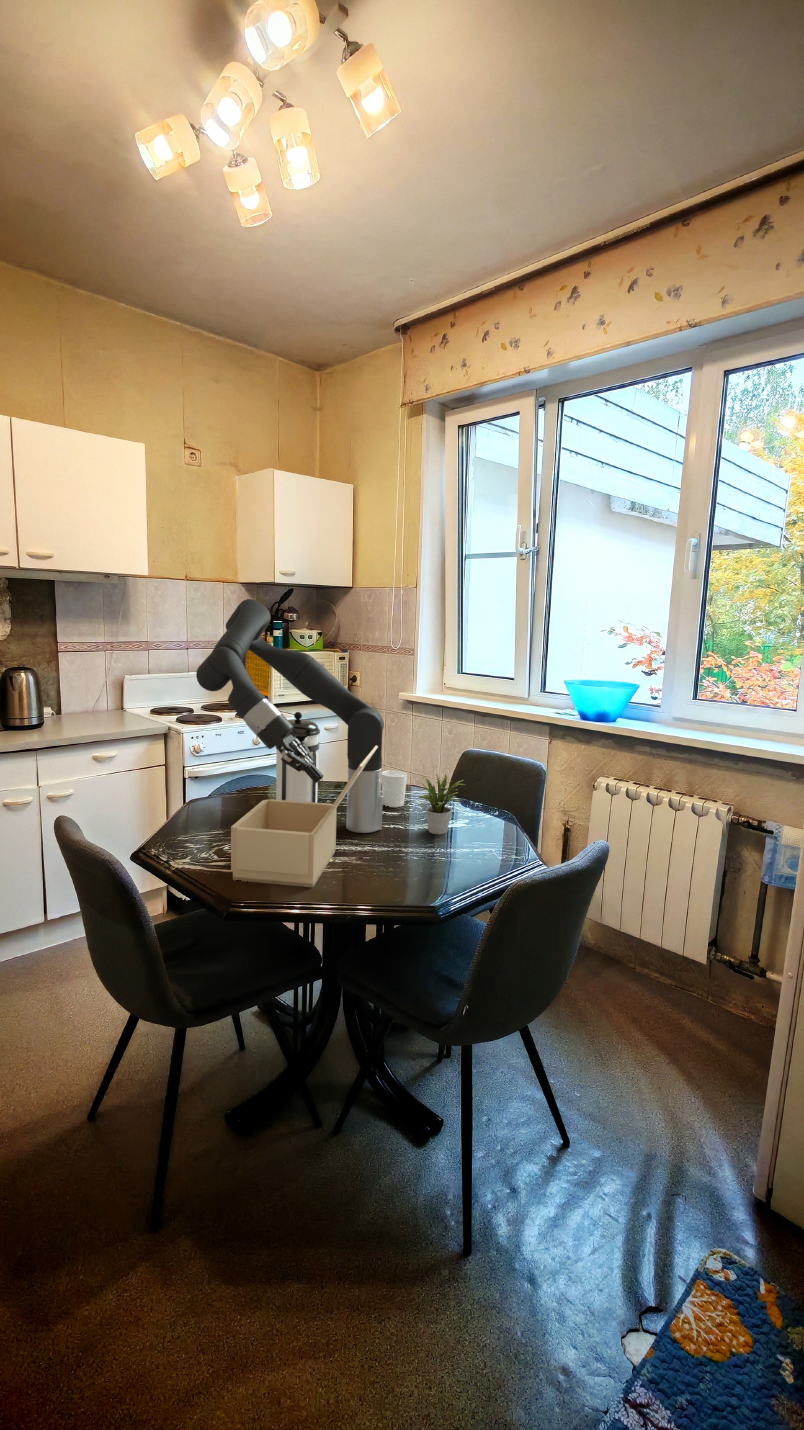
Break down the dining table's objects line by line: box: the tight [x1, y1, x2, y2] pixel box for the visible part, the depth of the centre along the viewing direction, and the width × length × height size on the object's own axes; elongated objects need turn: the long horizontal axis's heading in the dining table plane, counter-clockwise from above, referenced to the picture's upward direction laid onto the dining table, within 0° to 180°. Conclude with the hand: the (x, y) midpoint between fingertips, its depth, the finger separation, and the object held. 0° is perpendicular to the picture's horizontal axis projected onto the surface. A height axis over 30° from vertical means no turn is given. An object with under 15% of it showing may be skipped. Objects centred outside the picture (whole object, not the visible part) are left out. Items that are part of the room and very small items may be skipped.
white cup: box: [381, 769, 408, 808], centre depth 203 cm, size 8×8×10 cm
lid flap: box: [314, 746, 378, 834], centre depth 148 cm, size 18×22×1 cm
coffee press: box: [275, 711, 321, 803], centre depth 191 cm, size 17×16×30 cm
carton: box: [230, 798, 338, 888], centre depth 151 cm, size 19×23×12 cm
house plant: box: [417, 773, 466, 835], centre depth 178 cm, size 14×14×16 cm
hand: (319, 779), depth 147 cm, fingers closed
